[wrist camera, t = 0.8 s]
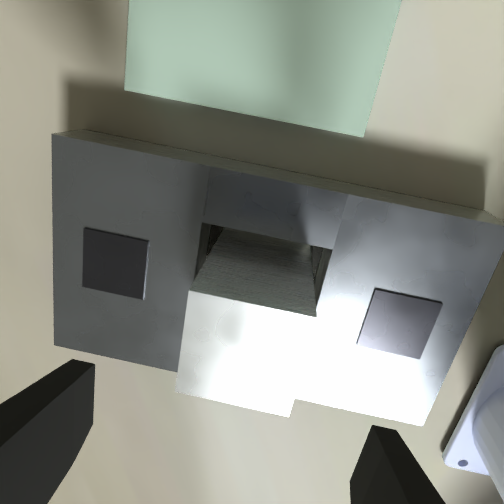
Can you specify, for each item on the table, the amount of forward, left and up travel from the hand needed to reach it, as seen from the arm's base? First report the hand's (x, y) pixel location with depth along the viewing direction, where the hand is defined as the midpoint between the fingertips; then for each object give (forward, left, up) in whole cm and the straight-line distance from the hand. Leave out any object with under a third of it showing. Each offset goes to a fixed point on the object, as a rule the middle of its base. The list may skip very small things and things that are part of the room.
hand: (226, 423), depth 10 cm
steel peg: (0, 0, -10) cm, 10 cm away
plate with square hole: (0, 0, -10) cm, 10 cm away
